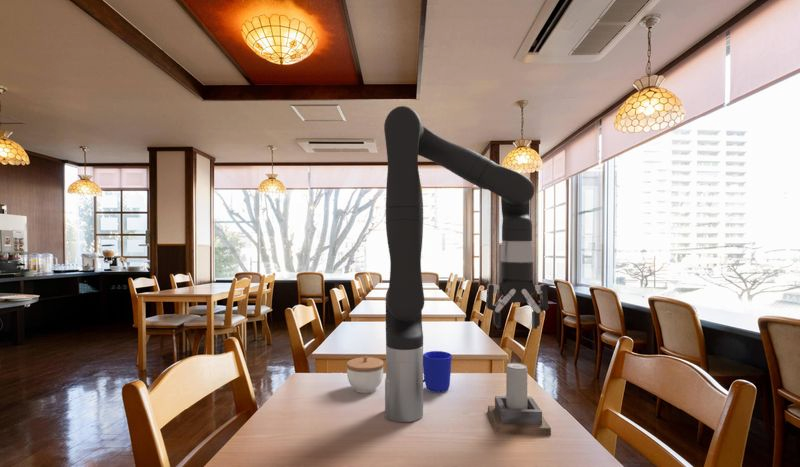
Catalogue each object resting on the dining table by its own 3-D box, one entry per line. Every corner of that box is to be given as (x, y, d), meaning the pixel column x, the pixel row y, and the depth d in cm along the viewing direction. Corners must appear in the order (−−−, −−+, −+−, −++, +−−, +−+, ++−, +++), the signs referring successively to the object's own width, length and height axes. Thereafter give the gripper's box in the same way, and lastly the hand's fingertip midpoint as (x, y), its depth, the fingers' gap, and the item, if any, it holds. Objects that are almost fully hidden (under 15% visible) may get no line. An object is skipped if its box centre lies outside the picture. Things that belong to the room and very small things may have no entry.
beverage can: (529, 420, 98) (530, 368, 98) (509, 420, 98) (509, 368, 98) (524, 411, 103) (524, 362, 103) (504, 411, 103) (504, 362, 103)
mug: (411, 383, 127) (411, 349, 127) (452, 385, 125) (452, 351, 125) (408, 393, 119) (408, 357, 119) (451, 395, 117) (451, 359, 117)
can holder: (496, 433, 94) (496, 413, 94) (487, 411, 106) (487, 393, 106) (550, 435, 94) (550, 414, 94) (536, 412, 106) (536, 394, 106)
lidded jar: (382, 396, 117) (382, 362, 117) (344, 396, 117) (344, 362, 117) (384, 382, 127) (384, 351, 127) (349, 382, 127) (349, 351, 127)
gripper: (489, 260, 97) (489, 330, 97) (551, 261, 97) (551, 331, 97) (484, 258, 105) (484, 324, 105) (542, 259, 104) (542, 325, 104)
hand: (516, 327), depth 101 cm, fingers open, 8 cm apart
